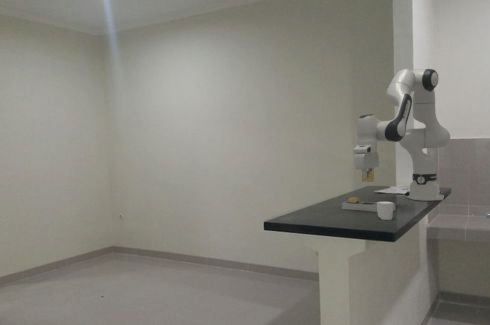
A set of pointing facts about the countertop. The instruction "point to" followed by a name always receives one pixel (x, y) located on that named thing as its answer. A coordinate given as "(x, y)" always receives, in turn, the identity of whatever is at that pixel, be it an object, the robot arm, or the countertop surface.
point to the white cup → (385, 210)
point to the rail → (363, 206)
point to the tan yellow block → (370, 177)
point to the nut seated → (353, 200)
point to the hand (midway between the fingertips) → (367, 177)
